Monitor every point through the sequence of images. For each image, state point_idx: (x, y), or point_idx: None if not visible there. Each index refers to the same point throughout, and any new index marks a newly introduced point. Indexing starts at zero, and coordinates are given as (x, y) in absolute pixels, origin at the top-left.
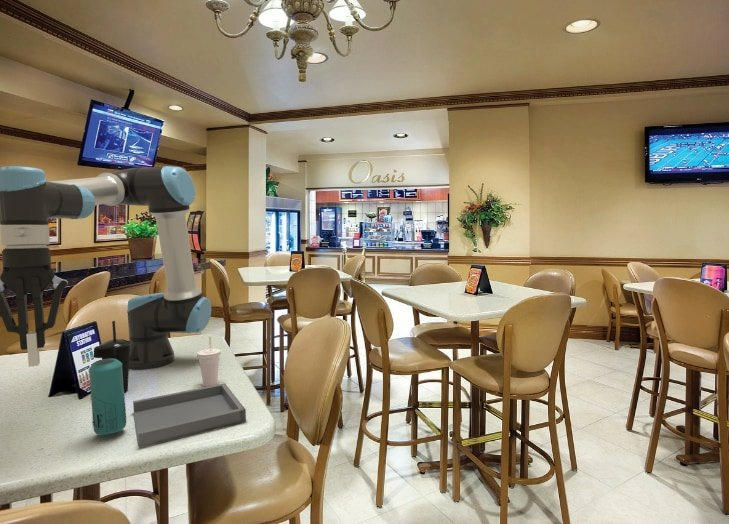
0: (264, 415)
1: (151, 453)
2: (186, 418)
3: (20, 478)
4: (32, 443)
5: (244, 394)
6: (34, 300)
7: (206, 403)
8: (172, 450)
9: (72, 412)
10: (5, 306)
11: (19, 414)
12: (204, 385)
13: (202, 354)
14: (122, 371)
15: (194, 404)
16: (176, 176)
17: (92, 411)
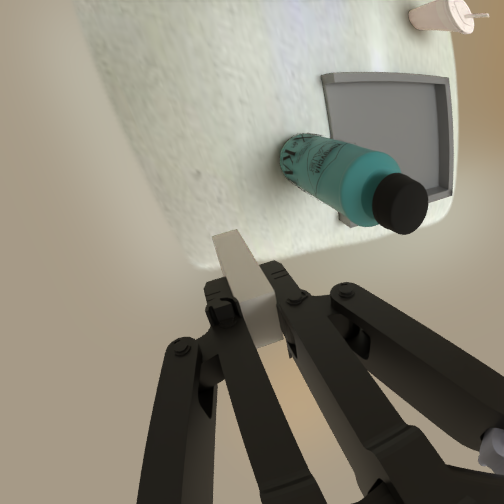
0: (454, 180)
1: (351, 238)
2: (395, 153)
3: (206, 262)
4: (172, 147)
5: (451, 95)
6: (356, 464)
7: (418, 108)
8: (371, 237)
9: (200, 20)
10: (210, 491)
11: (96, 8)
12: (411, 21)
13: (457, 22)
14: None
15: (405, 102)
16: None
17: (296, 178)
